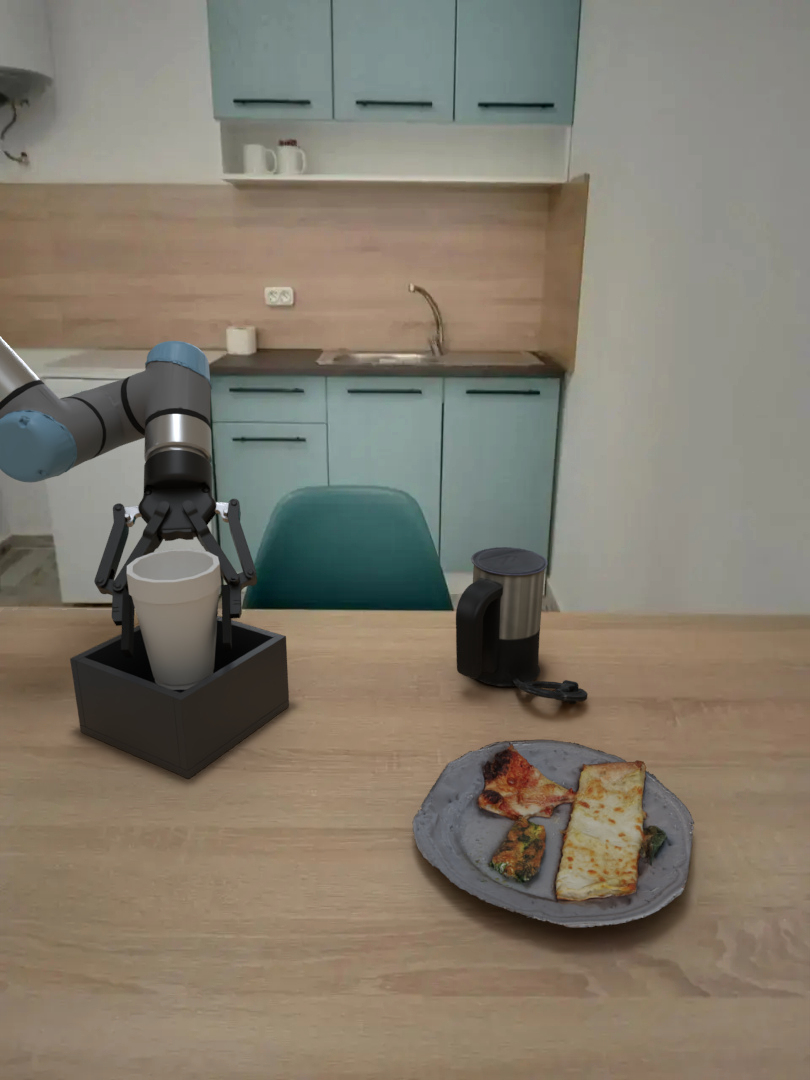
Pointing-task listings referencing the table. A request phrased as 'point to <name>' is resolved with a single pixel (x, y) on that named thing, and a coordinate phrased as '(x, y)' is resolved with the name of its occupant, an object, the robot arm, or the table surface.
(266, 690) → the black storage bin
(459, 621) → the milk frother
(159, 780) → the table surface
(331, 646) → the table surface
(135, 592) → the foam cup
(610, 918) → the food plate
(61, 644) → the table surface
